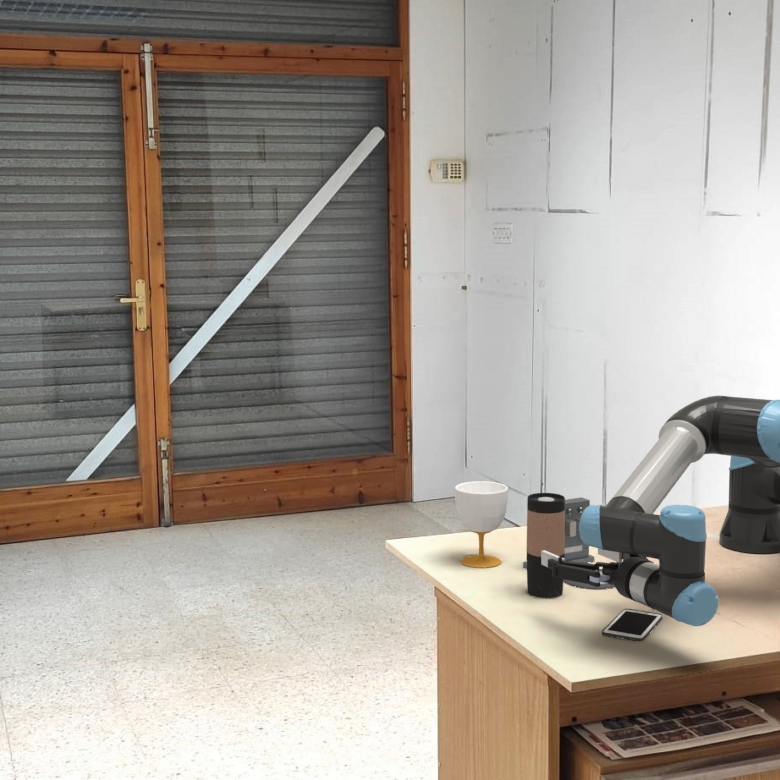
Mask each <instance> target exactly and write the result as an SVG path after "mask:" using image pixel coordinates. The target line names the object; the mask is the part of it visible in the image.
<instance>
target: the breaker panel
mask: <svg viewBox="0 0 780 780" xmlns="http://www.w3.org/2000/svg"><path fill="white" fill-rule="evenodd" d="M590 501H591V500H589V499H588V498H585V497H575V498H568V499H565V556H564V559H565V561H569V562H579V563H588V562H591V563H594V562H595V556H593V555H592V554H590V546H587V545H586V544H584V543H583V541H582V540H581V537H580V532H579V523H580V518H581V515H582V513H583V511H584V510H585V508H586V507H588V506H591V505H590V504H591V502H590ZM593 561H594V562H593ZM588 564H589V563H588ZM522 568H524V569H525V570H527V560H526V561H523V562H522Z"/></svg>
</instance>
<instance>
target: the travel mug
mask: <svg viewBox="0 0 780 780" xmlns="http://www.w3.org/2000/svg"><path fill="white" fill-rule="evenodd" d="M526 500H527V503H526V504H527V505H526V506H527V507H526V509H527V510H526V511H527V515H526V561H527V569H526V581H527V582H526V583H527V594H528V595H530V596H531V597H534V598H539V599H556V598H559V597H561V596H562V595H563V593H564V582H563V579H559V578H554V577H552V569H551V568H548V567H546V566H544V565H542V564H541V551H543V550H545V551H548V552H550V553H552V554H555V555H557V556H559V557H562V558H564V556H565V500H566V497H565V496H564V495H562V494H559V493H553V492H537V493H536V492H535V493H531V494H528V496H527V499H526Z"/></svg>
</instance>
